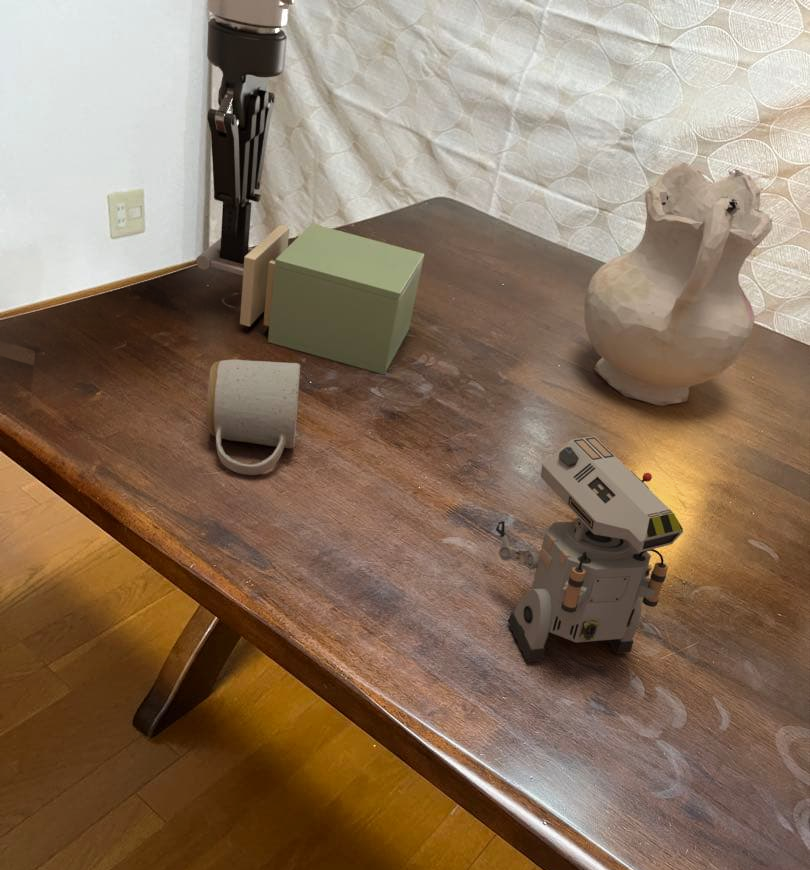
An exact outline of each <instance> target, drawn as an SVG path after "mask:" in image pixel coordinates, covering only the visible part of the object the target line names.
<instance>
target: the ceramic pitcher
mask: <svg viewBox="0 0 810 870" xmlns="http://www.w3.org/2000/svg"><path fill="white" fill-rule="evenodd" d="M728 174H729V175H728V176H726V177H724V178H721V179H719V180H716V181H714V182H713V181H709V180H707V178H706V177H705V176H704V175H703V173H702V172H701V170H700V169H698V168H696V167H692V166H691V165H690V164H689V163H688V162H685V161H680V162H679V163H676V164H675V165H673V166H672V167H670V168H668V169H667V170H666V171H665V172H664V173H663V174H662V175H661V176H660V177H659V178H658V180H657V181H656V183H655V186H652V185H650V187H648V189H646V191H645V192H644V193H645V194H644V203H645V211H646V221H645V227H644V233H643V235H642V238H641V240H640V242H639V244H637V246H635V248H634V249H633V250H631V251H630V252H627V253H625V254H621V255H620V256H618V257H615V258H613V259H611V260H608V261H607V262H606V263H604V264H603V265H602V266H600V267H599V268H598V270H597V271H596V272H595V273H594V274H593V276H592V277H591V279H590V282H589V284H588V287H587V290H586V293H585V297H584V303H583V304H584V307H583V308H584V310H583V311H584V312H583V313H584V315H583V316H584V317H583V319H584V325H585V330H586V334H587V336H588V338H589V341H590V342H591V344H592V346H593V348H594V349H595V351H596V354H597V355H598V356H599V357H601V358H600V359H598V361H596V364H595V365H594V367H593V371H595V372H596V373H597V374H598V375H599V376H600V377H601V378H602V379H603V380H604V381H605V382H606V383H607V384H608V385H609V386H611V387H612V388H613V389H614V390H616V391H617V392H619V393H620V394H622V395H623V396H624V397H626V398H630V399H635V400H638V401H642V402H646V403H648V404H652V405H655V406H659V407H660V406H663V407H664V406H667V405H668V406H669V405H674V404H679V403H680V404H681V403H686V402H688V398H689V396H690V395H689V394H690V389H689V388H690V387H691V386H692V387H693V386H696V385H697V386H698V385H700V384H703V383H706V382H708V381H711V380H712V379H714V378H716V377H718V376H720V375H722V374H723V373H724V372H725V371H726V370H728V369H729V368H730V367H731V366H732V365H733V364H735V363H736V361H738V359H739V358H740V357H741V355H743V353H744V351H745V350H746V347H747V345H748V343H749V340H750V338H751V336H752V333H753V330H754V326H755V319H756V316H755V313H754V310H753V306H752V303H751V302H750V300H749V298H748V297H747V295H746V294H745V292H744V289H743V288H742V286H741V285H740V280H739V279H740V278H739V275H740V271H741V269H742V268H743V266H744V263H745V262H746V259H747V258H748V257H749V256H750V254H751V253H752V252H753V251H754V250H755V249H756V248H757V247H758V246H759V245H760V244H761V243H762V242H763V241H764V240H765V239H766V238H767V236H768V235H769V234H770V232H771V231H772V229H773V218H771V217H770V215H769V214H768V213H767V212H765V211H763V210H760V206H761V192H762V191H764V188H763V187H762V188H758V184H757V183H756V182H755V181H754V179H752V176H751V175H750V174H746V173H743V172H742V171H741V170H739V169H735V168H734V172H733V171H731V170H728Z"/></svg>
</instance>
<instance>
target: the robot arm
mask: <svg viewBox="0 0 810 870" xmlns="http://www.w3.org/2000/svg"><path fill="white" fill-rule="evenodd" d="M295 1H296V0H208V4H207V6H208V7H207V9H208V11H209V12H210V14H212V16H213V17H212V18H210V20H209V21H208V23H207V44H206V45H207V47H206V53H207V54H206V57H207V60H208V62H209V63H210V64H211V65H213V66H214V67H216V68H218V69H219V70H220V71H221V72H222V77H221V82H220V86H219V89H218V97H217V104H218V106H219V107H218V109H214V108H209V109H208V111H207V116H206V118H207V123H208V127H209V130H210V141H211V142H210V143H211V160H212V161H211V162H212V163H211V164H212V179H213V180H212V181H213V200H215V201H218V202H222V211H221V231H220V238H221V248H220V259H222V260H226V261H229V262H232V263H236V264H241V265H244V257H245V256H246V255H247V254H248V247H249V244H250V243H249V242H250V231H251V230H250V229H251V218H252V217H251V216H252V202H255V203H259V202H260V201H261V196H262V195H261V194H259V193H255V191H258V190H260V188H261V184H262V183H261V182H262V176H263V169H264V165H265V164H264V163H265V156H266V150H267V145H268V144H267V143H268V138H269V137H268V136H269V131H270V125H271V124H270V123H271V117H272V113H273V109H274V106H275V102H276V94H275V92H270V91H268V82H269V81H268V78H275V77H278V76H280V75H282V74H283V72H284V70H285V62H286V52H287V51H286V50H287V40H288V36H287V34H286V32H285V31H284V30H283V29H282V28H285V26H287V25H288V23H289V22H288V20H289V10H290V6H291V5H293V4H294V3H295ZM251 201H252V202H251Z"/></svg>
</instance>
